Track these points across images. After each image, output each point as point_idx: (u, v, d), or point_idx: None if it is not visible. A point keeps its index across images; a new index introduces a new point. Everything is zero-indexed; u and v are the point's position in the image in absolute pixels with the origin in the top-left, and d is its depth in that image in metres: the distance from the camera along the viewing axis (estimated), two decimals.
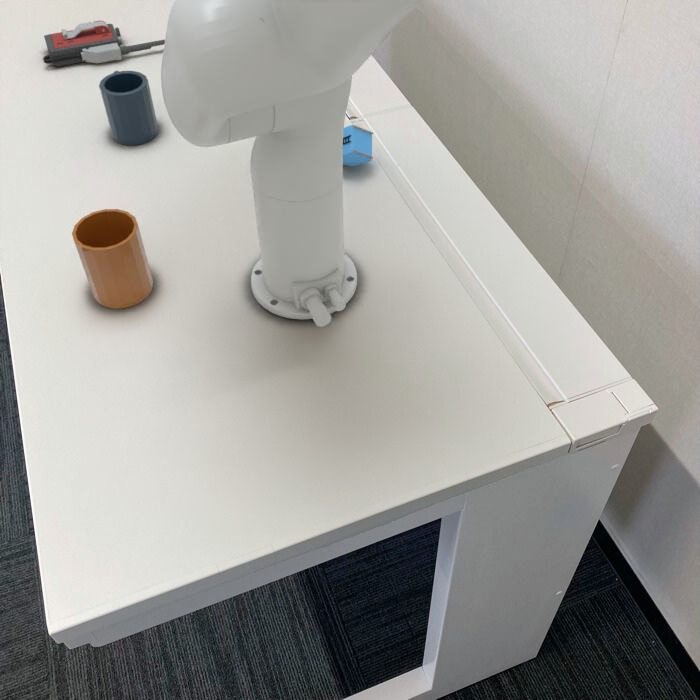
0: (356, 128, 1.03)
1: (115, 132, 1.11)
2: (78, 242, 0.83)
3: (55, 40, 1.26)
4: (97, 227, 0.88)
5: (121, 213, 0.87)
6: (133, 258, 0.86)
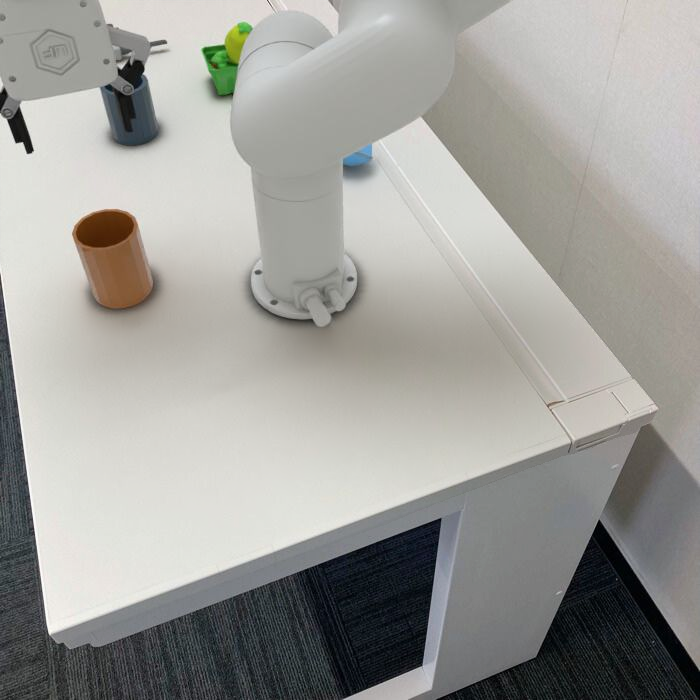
0: None
1: (115, 132, 1.11)
2: (78, 242, 0.83)
3: None
4: (97, 227, 0.88)
5: (121, 213, 0.87)
6: (133, 258, 0.86)
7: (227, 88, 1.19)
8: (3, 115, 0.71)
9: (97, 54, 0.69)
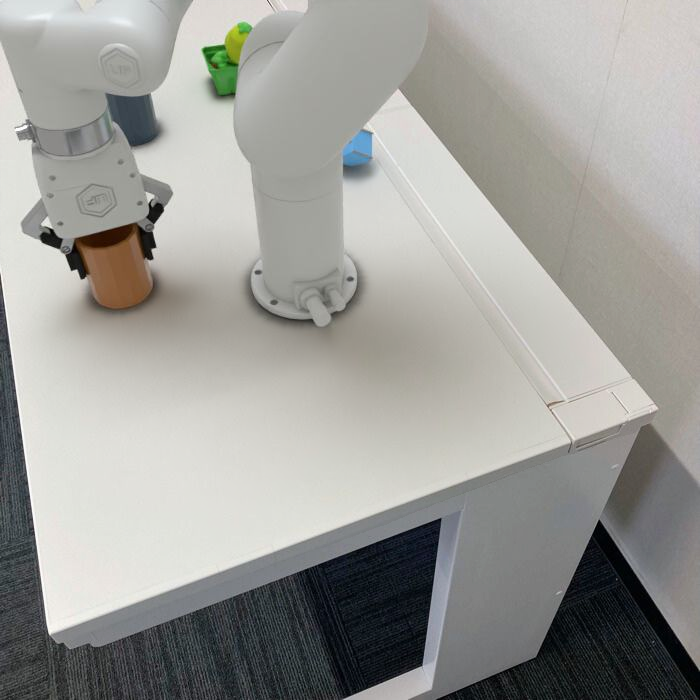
0: None
1: None
2: (78, 242, 0.83)
3: None
4: None
5: None
6: (133, 258, 0.86)
7: (227, 88, 1.19)
8: (62, 252, 0.83)
9: (132, 198, 0.81)
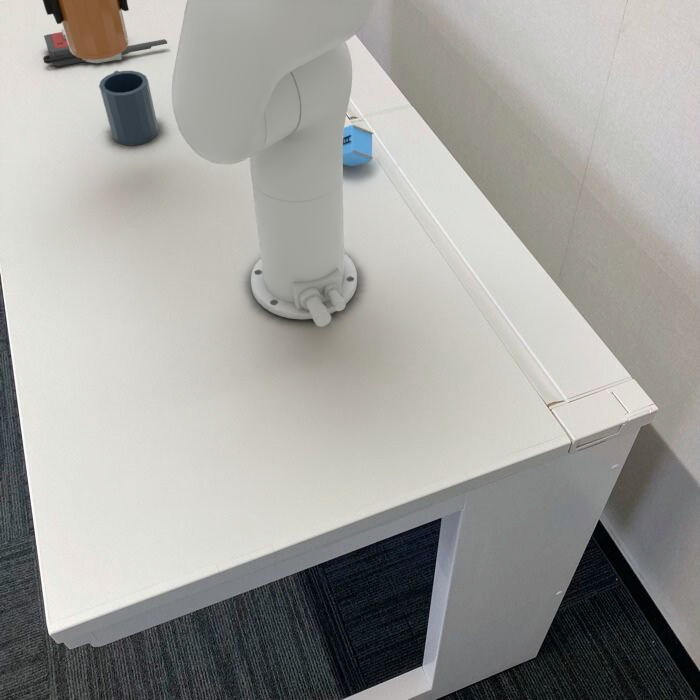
0: (356, 128, 1.03)
1: (115, 132, 1.11)
2: None
3: (55, 40, 1.26)
4: None
5: None
6: (108, 0, 0.88)
7: None
8: None
9: None
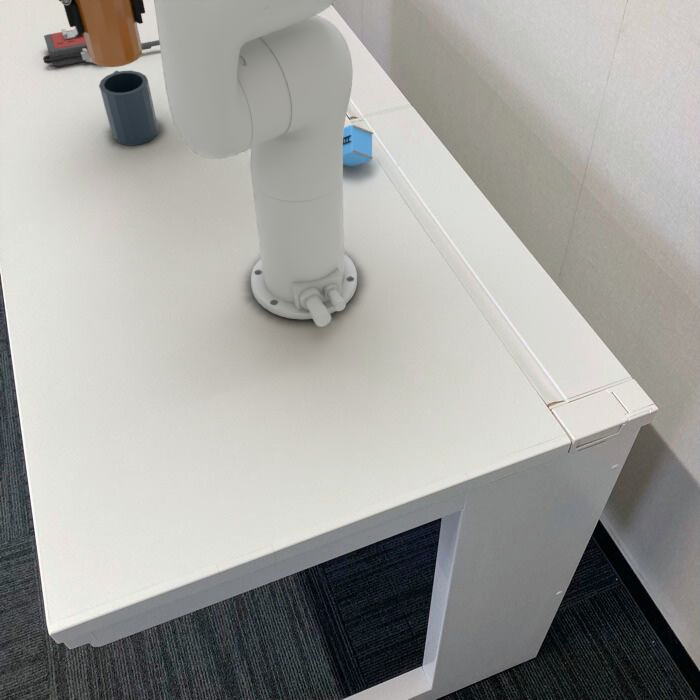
0: (356, 128, 1.03)
1: (115, 132, 1.11)
2: None
3: (55, 40, 1.26)
4: None
5: None
6: (124, 14, 0.98)
7: None
8: (63, 3, 0.96)
9: None
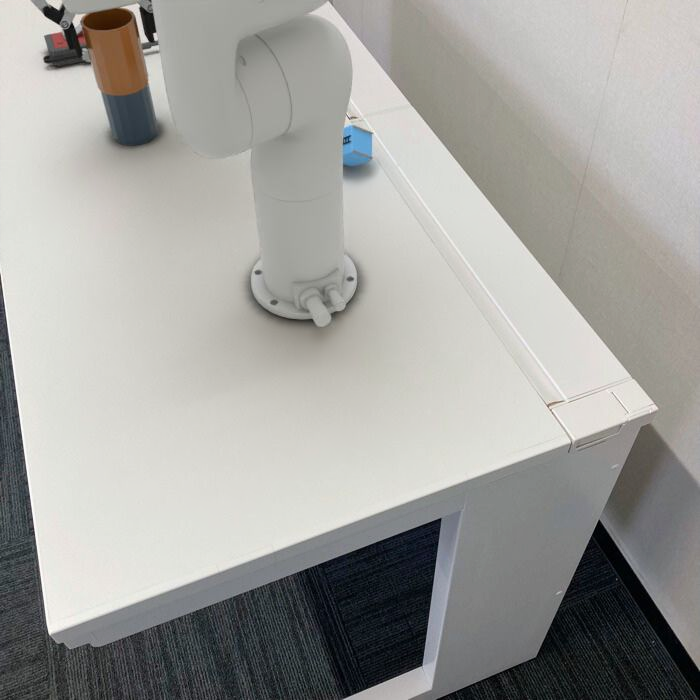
0: (356, 128, 1.03)
1: (115, 132, 1.11)
2: (85, 27, 0.99)
3: (55, 40, 1.26)
4: (101, 24, 1.04)
5: (121, 10, 1.03)
6: (131, 45, 1.02)
7: None
8: (61, 26, 0.98)
9: None
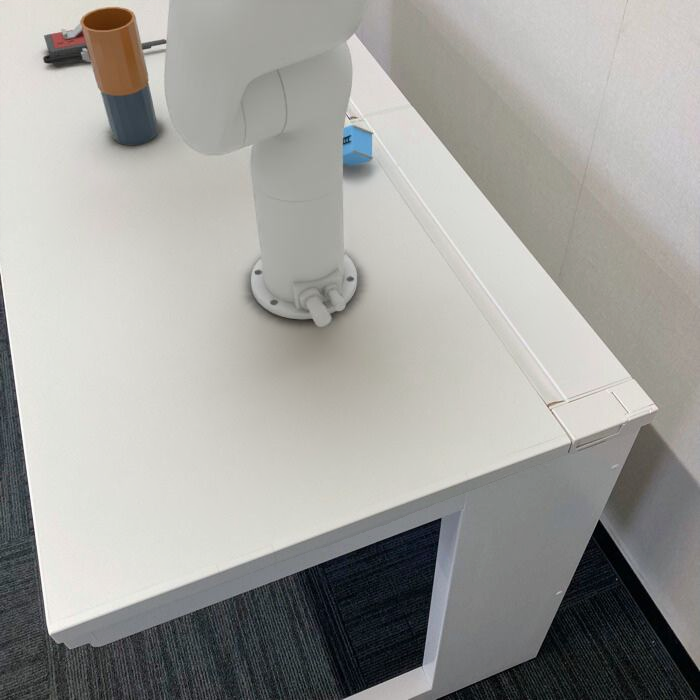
0: (356, 128, 1.03)
1: (115, 132, 1.11)
2: (85, 27, 0.99)
3: (55, 40, 1.26)
4: (101, 24, 1.04)
5: (121, 10, 1.03)
6: (131, 45, 1.02)
7: None
8: None
9: None
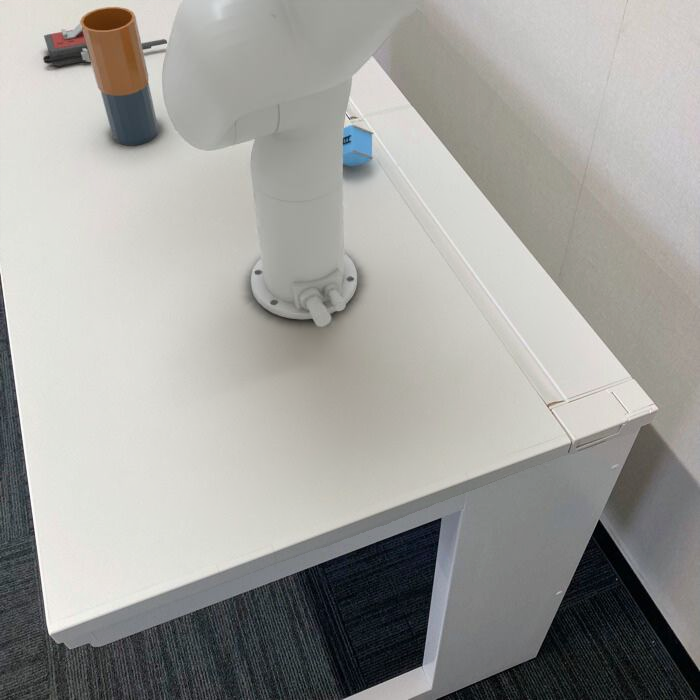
0: (356, 128, 1.03)
1: (115, 132, 1.11)
2: (85, 27, 0.99)
3: (55, 40, 1.26)
4: (101, 24, 1.04)
5: (121, 10, 1.03)
6: (131, 45, 1.02)
7: None
8: None
9: None
